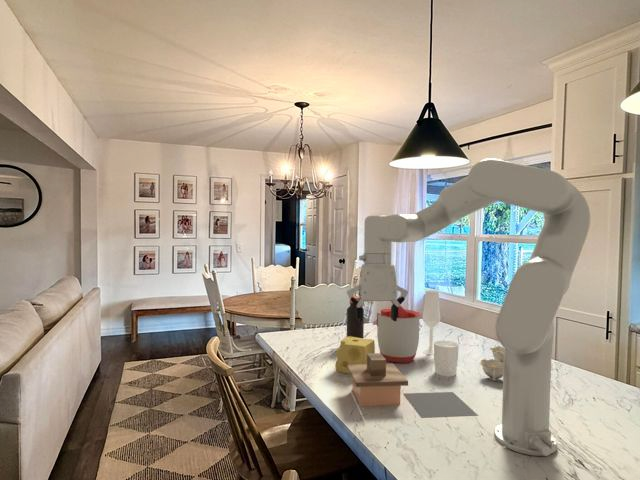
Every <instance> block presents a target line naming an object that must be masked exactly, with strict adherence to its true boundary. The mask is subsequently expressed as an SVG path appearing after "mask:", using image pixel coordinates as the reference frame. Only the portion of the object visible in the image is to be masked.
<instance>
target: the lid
mask: <svg viewBox="0 0 640 480" xmlns="http://www.w3.org/2000/svg"><path fill="white" fill-rule="evenodd" d="M347 369H348V371H349V373H350V374H349V376H350V377H351V380H352V382H353V381H354V383H355V385H356V387H376V386H401V387H402V386H403V387H405V386H409V380H408V379H407V378H406V377H405V376H404V375H403V373H402V372H401V371H400V369H398V368H397V366H396V365H395V364H394V363H387V361H386V359H385V358H384V357H383V356H382V354H381V353H380V352H379V353H377V352H376V353H367V364H356V365H347Z"/></svg>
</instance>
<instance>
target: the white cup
mask: <svg viewBox="0 0 640 480" xmlns="http://www.w3.org/2000/svg"><path fill="white" fill-rule="evenodd" d="M459 347H460V346H459V344H458V342H455V341H451V340H436V341H434V342H433V348H434V355H433V359H434V361H433V362H434V374H436V375H439V376H441V377H455V376H456V375H457V369H458V368H457V367H458V361H459Z"/></svg>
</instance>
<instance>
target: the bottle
mask: <svg viewBox="0 0 640 480" xmlns="http://www.w3.org/2000/svg"><path fill="white" fill-rule="evenodd" d="M353 296H354V298H355V299H356V300H358V298H359V295H353ZM349 304H350V305H349V306H348V307H347V309H346V337H348V336H351V337H356V338H364V330H365V329H364V328H365V326H364V325H365V310H364V308H363V321H362V322H360V321H359V320H358V318H356V305H355V304H354V303H353V302H352V301H351V300H350V299H349Z"/></svg>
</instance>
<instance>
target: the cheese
mask: <svg viewBox="0 0 640 480" xmlns="http://www.w3.org/2000/svg"><path fill="white" fill-rule="evenodd" d="M375 344H376V343H375V340H374V339H372V338H371V339H370V338H364V337H363V338H356V337H351V336H348V337H347V336H345V337H344V338H343V339H341V340H340V345H339V347H338V348H337V350H336V353H335V354H336V357H337V360H335V364H334V365H335V372H337V373H344V374H349V375H350V373H349V371H348V369H347V365H356V364H367V353H375V352H376V351H375V349H376V347H375V346H376V345H375Z"/></svg>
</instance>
